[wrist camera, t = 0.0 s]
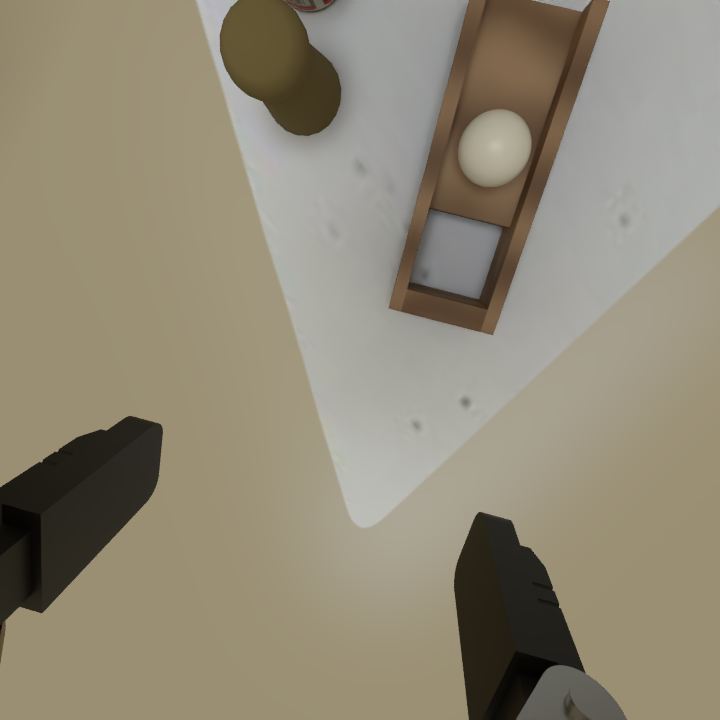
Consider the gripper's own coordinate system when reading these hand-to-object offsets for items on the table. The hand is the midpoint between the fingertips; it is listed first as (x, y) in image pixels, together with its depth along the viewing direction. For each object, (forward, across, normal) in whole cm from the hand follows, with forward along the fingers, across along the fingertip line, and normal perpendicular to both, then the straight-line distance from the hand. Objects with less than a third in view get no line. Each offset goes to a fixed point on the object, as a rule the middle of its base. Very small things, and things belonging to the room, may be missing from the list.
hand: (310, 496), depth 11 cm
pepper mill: (+30, +10, -14) cm, 34 cm away
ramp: (+29, -5, -11) cm, 32 cm away
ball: (+24, -5, -12) cm, 28 cm away
